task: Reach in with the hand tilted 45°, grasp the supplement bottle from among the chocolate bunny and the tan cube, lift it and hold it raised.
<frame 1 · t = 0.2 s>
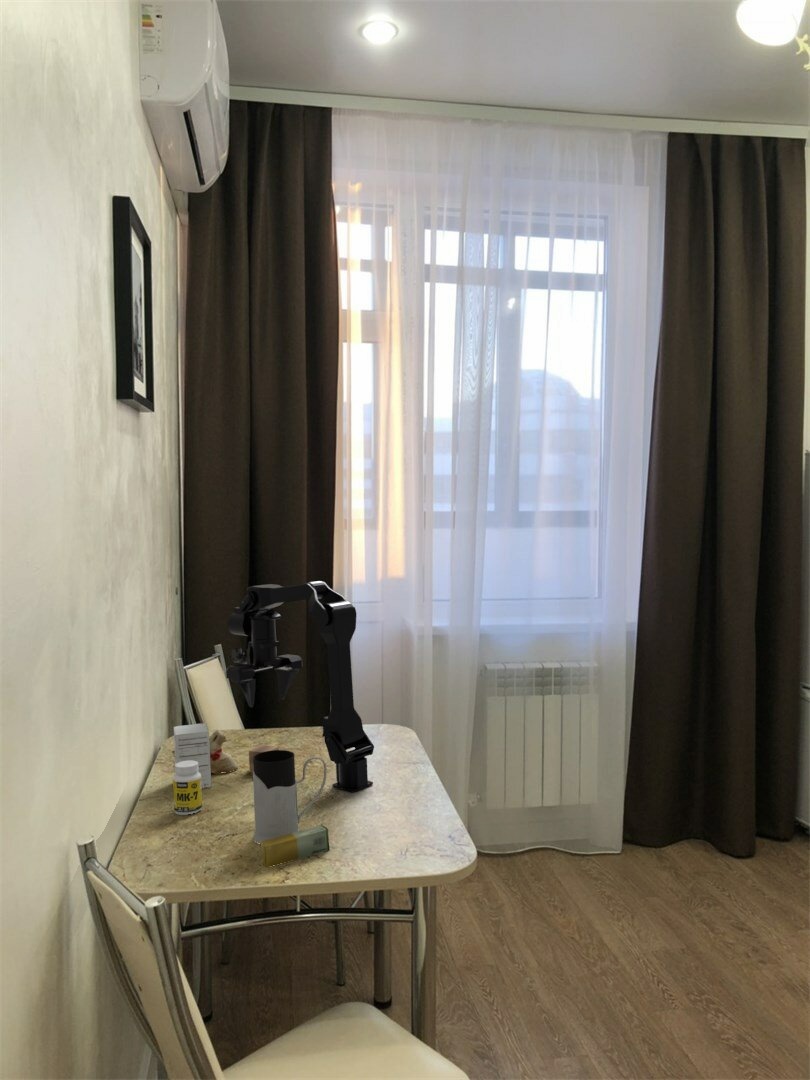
hand: (266, 702, 194), 14 cm above the table, tool pointing down, fingers open, 9 cm apart
tan cube: (264, 769, 190), on the table
supplement box: (193, 785, 181), on the table
glass holder: (291, 834, 152), on the table
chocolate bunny: (219, 771, 190), on the table
supplement bottle: (188, 811, 165), on the table
medication box: (296, 858, 142), on the table
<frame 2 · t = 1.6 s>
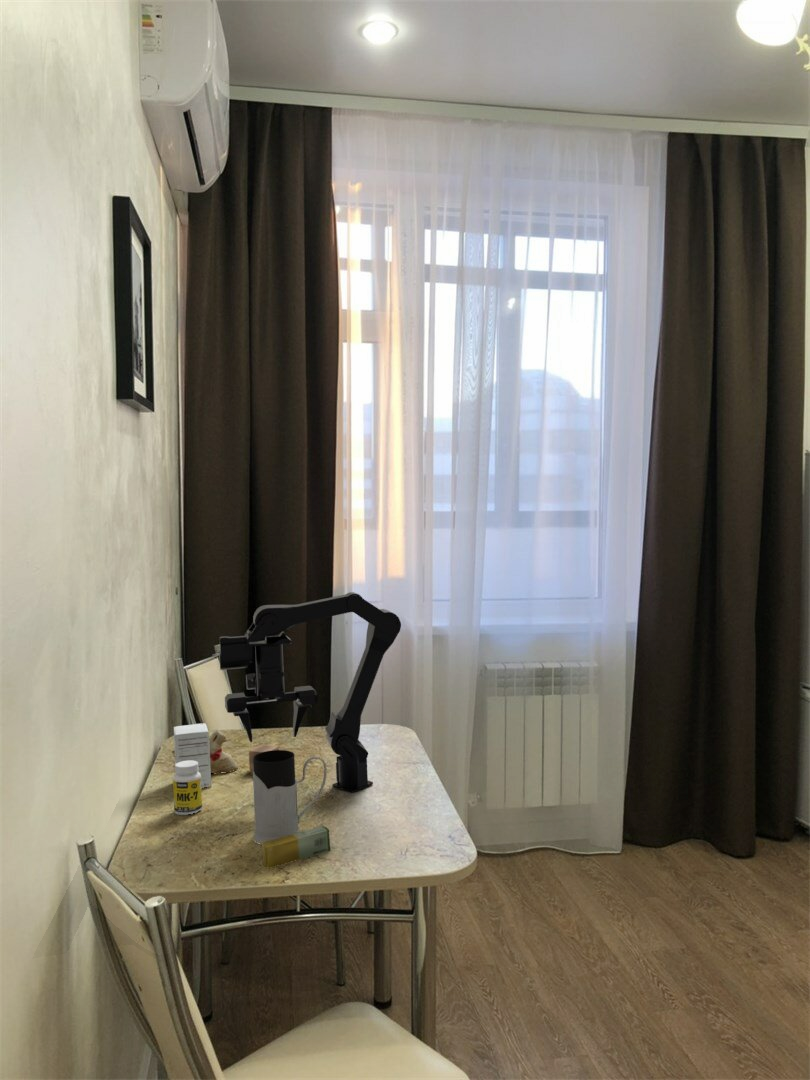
hand: (273, 739, 172), 12 cm above the table, tool pointing down, fingers open, 9 cm apart
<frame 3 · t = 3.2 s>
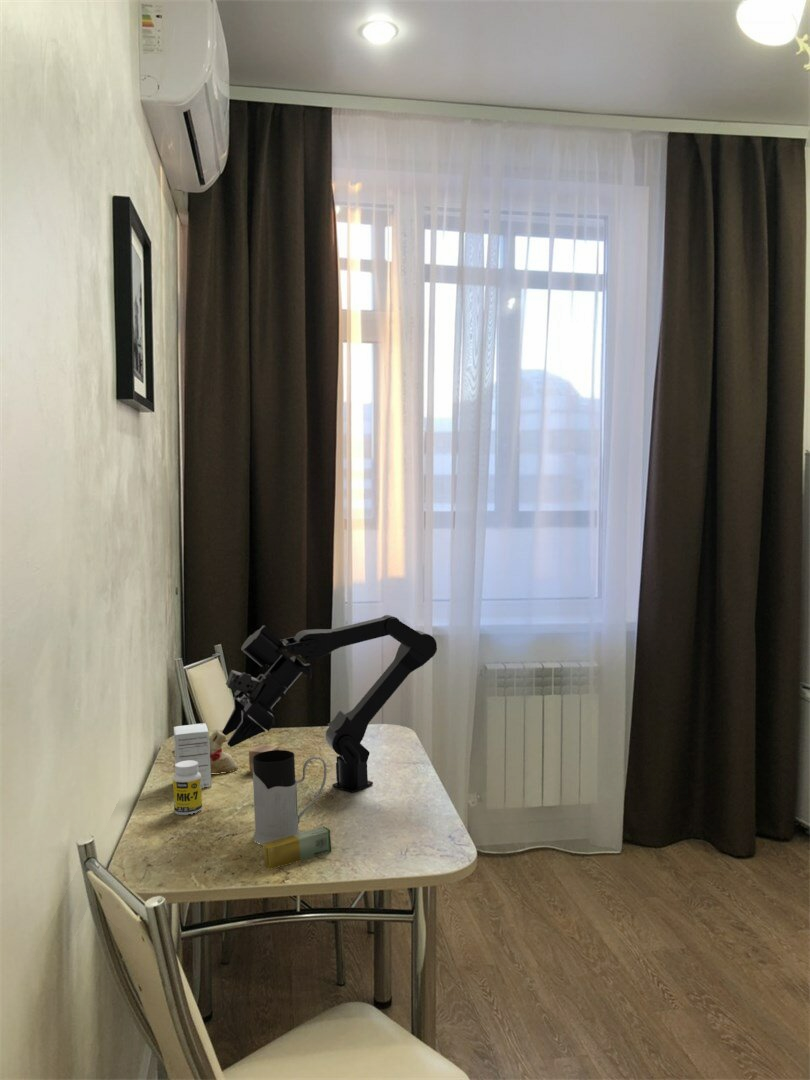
hand: (226, 739, 167), 14 cm above the table, tool tilted 45°, fingers open, 9 cm apart
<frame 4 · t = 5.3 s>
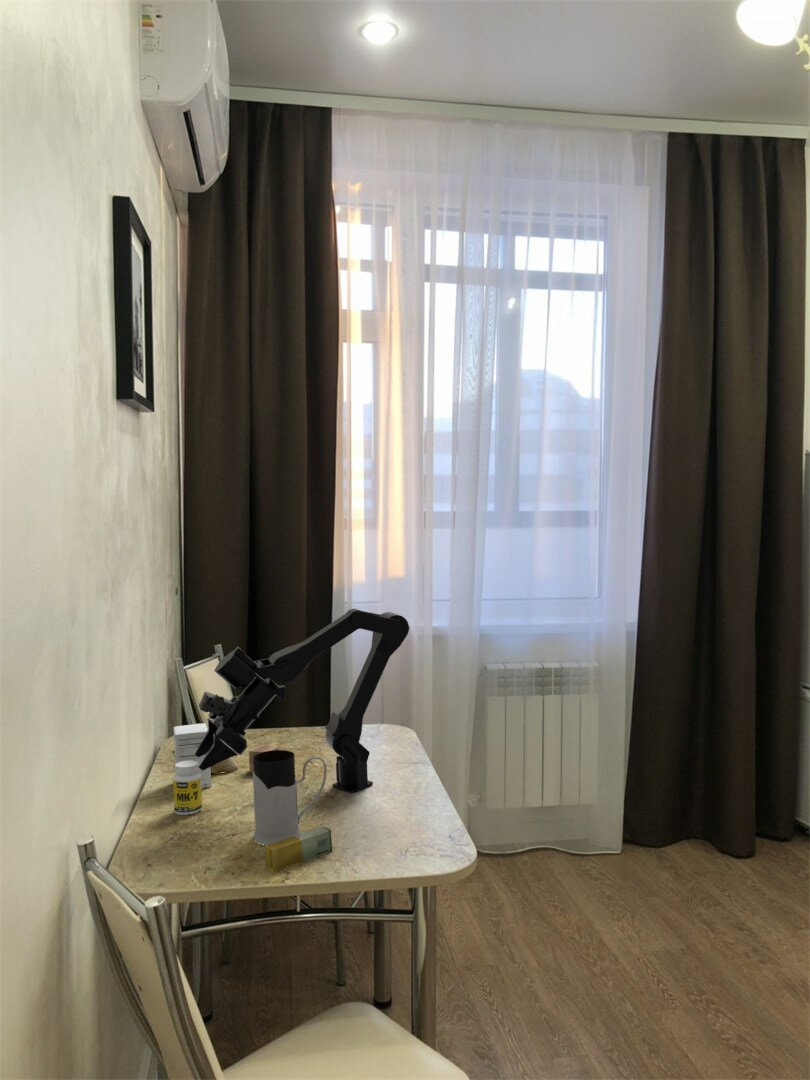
hand: (198, 762, 166), 10 cm above the table, tool tilted 45°, fingers open, 9 cm apart
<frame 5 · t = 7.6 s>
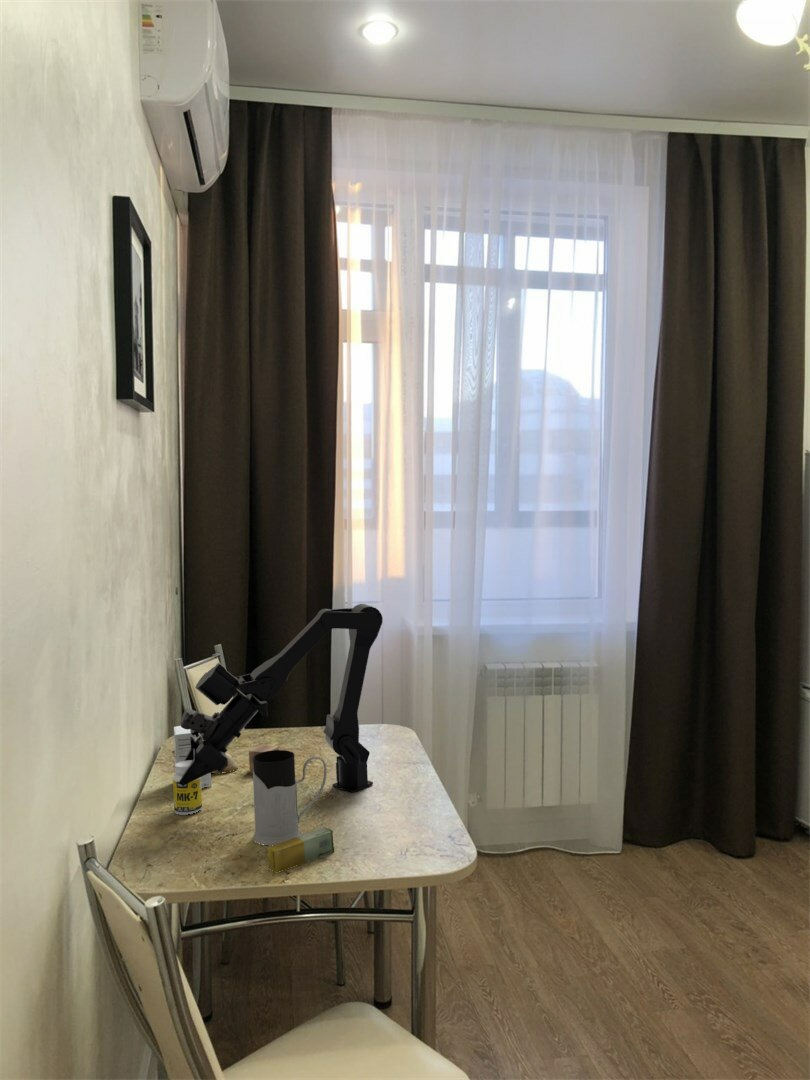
hand: (179, 779, 164), 7 cm above the table, tool tilted 45°, fingers closed on supplement bottle, 5 cm apart
supplement bottle: (188, 811, 165), on the table, touching gripper
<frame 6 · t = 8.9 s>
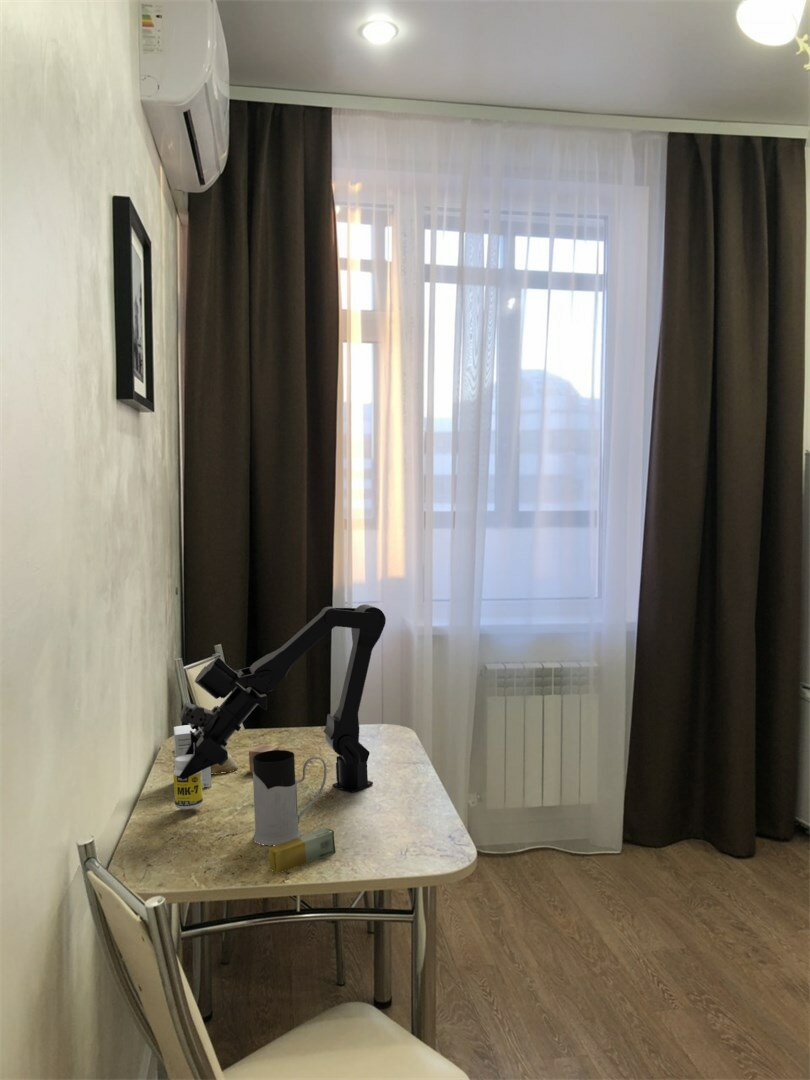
hand: (180, 773, 164), 8 cm above the table, tool tilted 45°, fingers closed on supplement bottle, 5 cm apart
supplement bottle: (189, 805, 165), point 1 cm above the table, touching gripper
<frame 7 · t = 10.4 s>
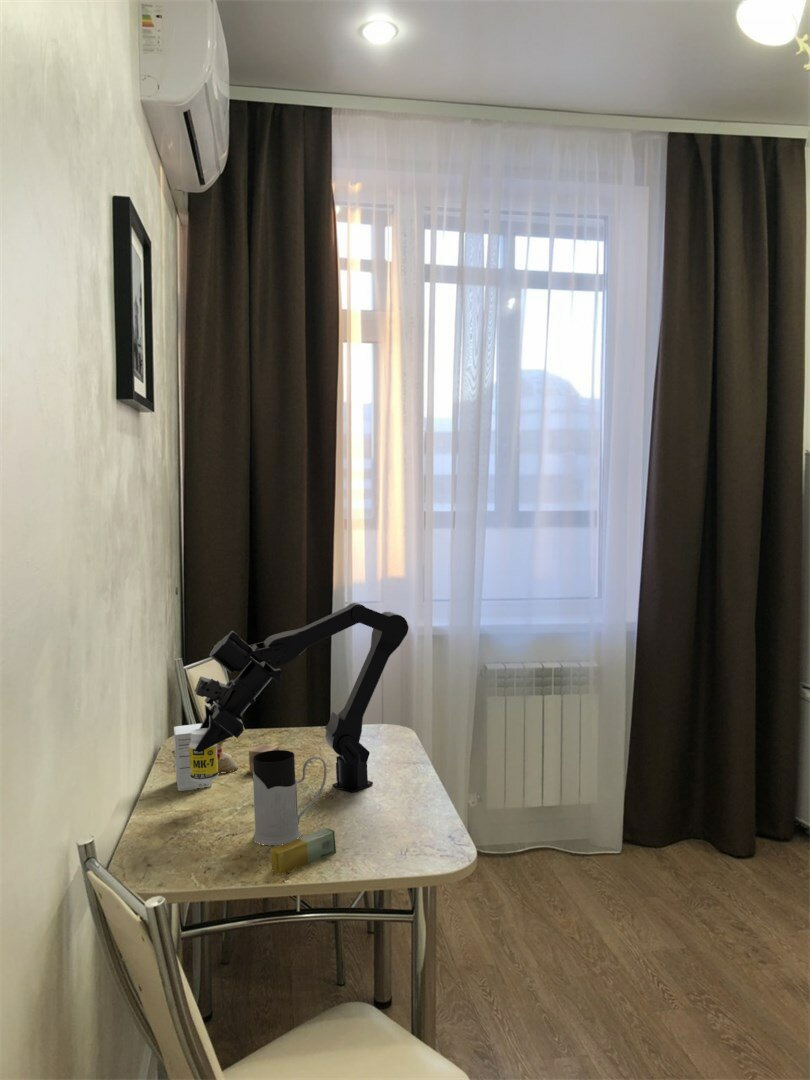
hand: (195, 747, 165), 13 cm above the table, tool tilted 45°, fingers closed on supplement bottle, 5 cm apart
supplement bottle: (204, 779, 166), point 6 cm above the table, touching gripper
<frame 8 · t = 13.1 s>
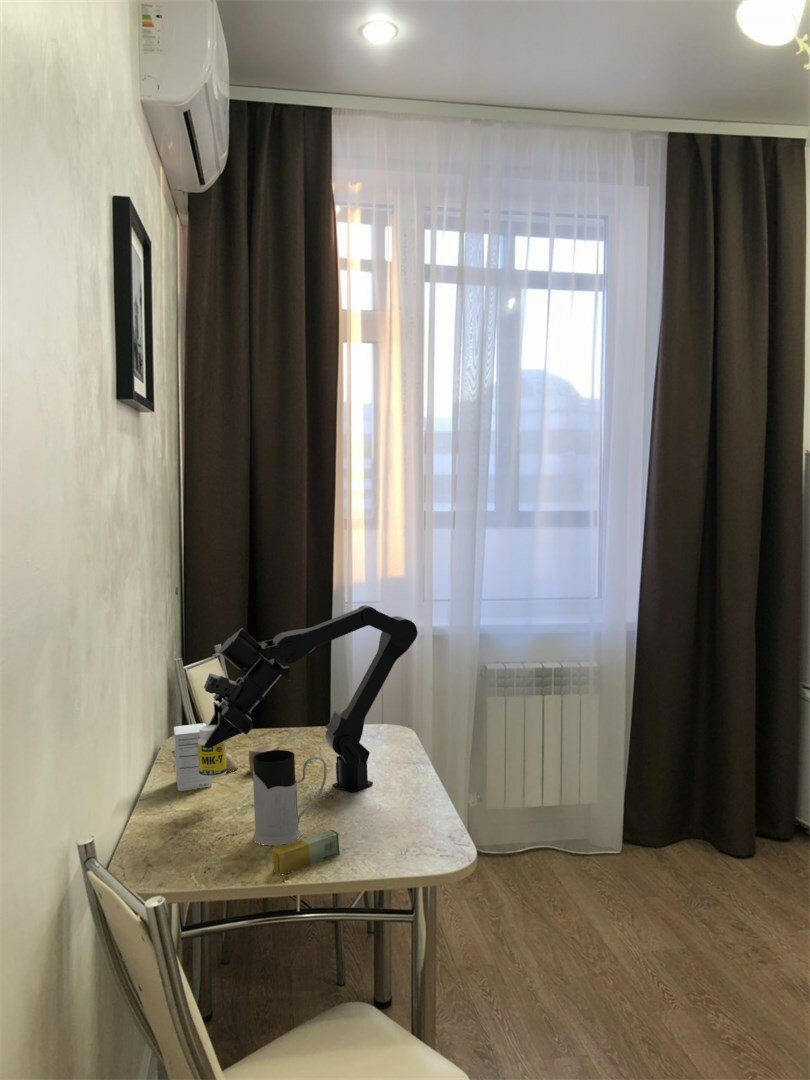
hand: (204, 743, 166), 13 cm above the table, tool tilted 45°, fingers closed on supplement bottle, 5 cm apart
supplement bottle: (213, 775, 167), point 6 cm above the table, touching gripper
at the end: the gripper is holding supplement bottle; supplement bottle point 6.5 cm above the table; supplement box moved 0.2 cm from its start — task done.
